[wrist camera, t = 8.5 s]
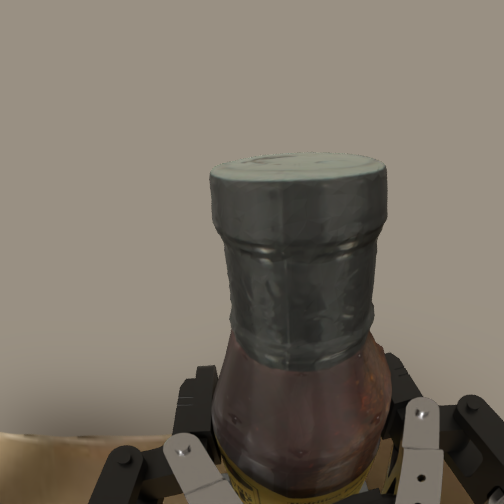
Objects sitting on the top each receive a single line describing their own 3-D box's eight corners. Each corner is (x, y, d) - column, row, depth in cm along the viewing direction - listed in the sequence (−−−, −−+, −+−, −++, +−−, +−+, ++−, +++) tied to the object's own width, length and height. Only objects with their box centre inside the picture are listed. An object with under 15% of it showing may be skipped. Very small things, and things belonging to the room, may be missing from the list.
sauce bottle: (250, 475, 18) (201, 156, 11) (343, 473, 17) (380, 147, 10) (239, 556, 12) (103, 192, 5) (347, 555, 11) (485, 174, 4)
